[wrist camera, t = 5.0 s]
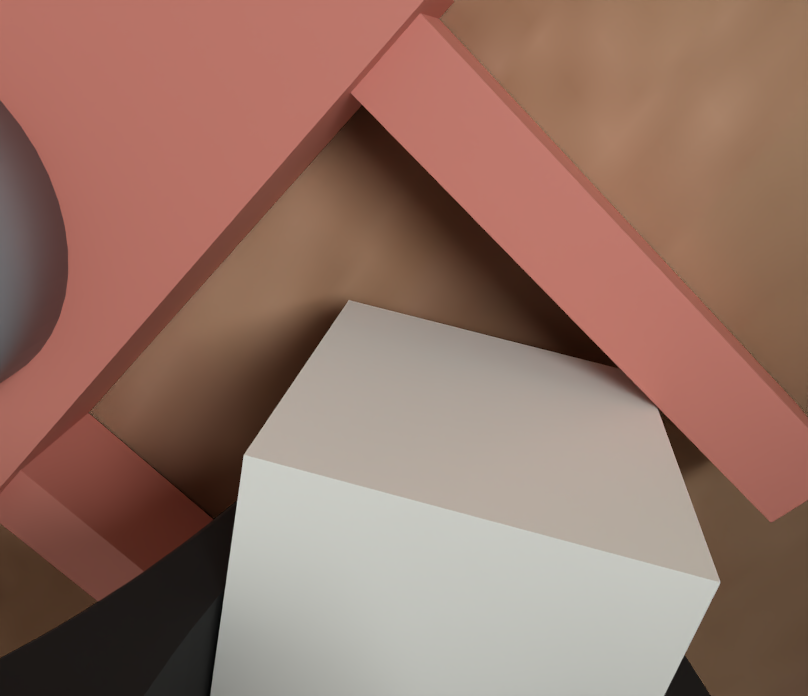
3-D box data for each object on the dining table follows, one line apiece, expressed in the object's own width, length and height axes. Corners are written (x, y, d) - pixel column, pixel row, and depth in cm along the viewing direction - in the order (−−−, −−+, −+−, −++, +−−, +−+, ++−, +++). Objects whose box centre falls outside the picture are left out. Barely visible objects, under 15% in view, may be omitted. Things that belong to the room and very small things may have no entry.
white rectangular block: (645, 375, 11) (720, 581, 7) (532, 668, 13) (536, 952, 9) (349, 299, 11) (243, 454, 7) (291, 601, 13) (188, 849, 9)
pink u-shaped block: (815, 393, 11) (981, 592, 7) (348, 709, 15) (284, 949, 11) (113, -369, 9) (-228, -714, 5) (-219, 238, 13) (-558, 326, 9)
